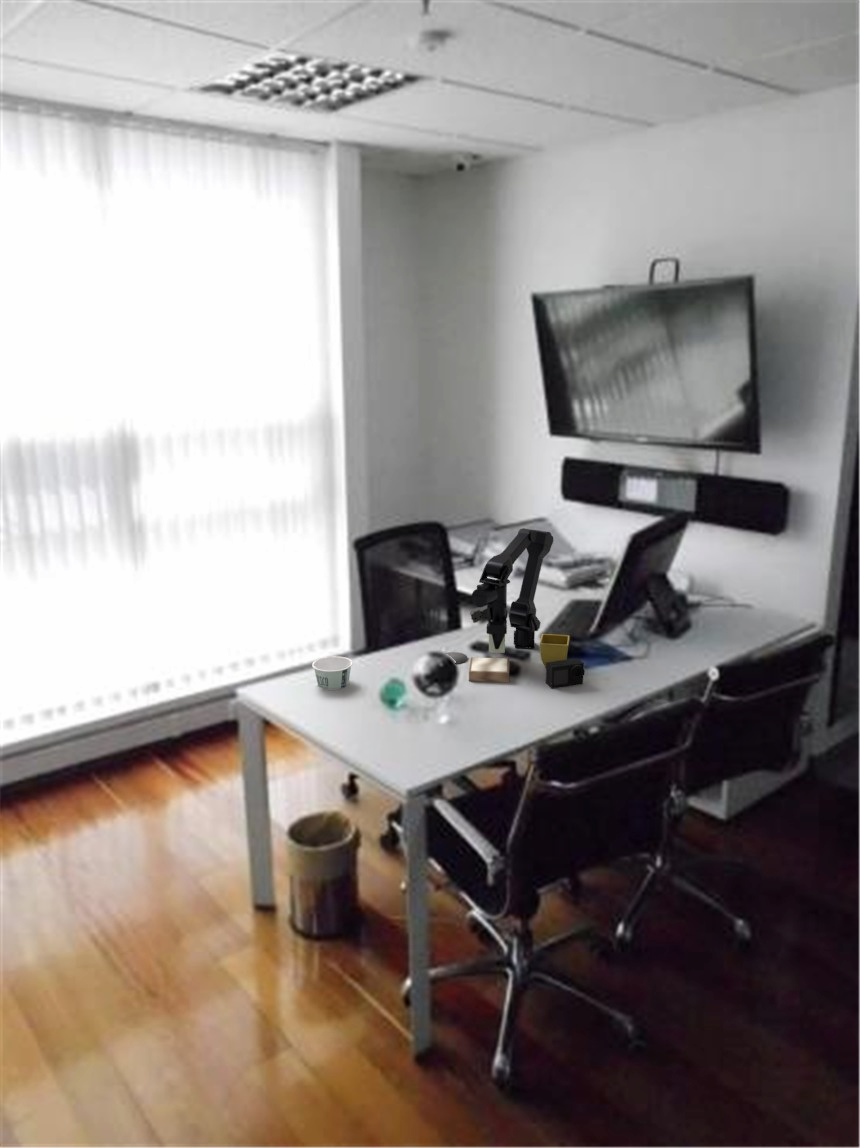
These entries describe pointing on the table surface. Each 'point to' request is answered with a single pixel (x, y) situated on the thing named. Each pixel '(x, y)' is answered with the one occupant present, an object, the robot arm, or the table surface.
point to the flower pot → (553, 647)
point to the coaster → (458, 657)
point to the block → (492, 647)
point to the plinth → (489, 669)
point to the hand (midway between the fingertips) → (496, 646)
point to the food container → (332, 672)
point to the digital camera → (564, 673)
